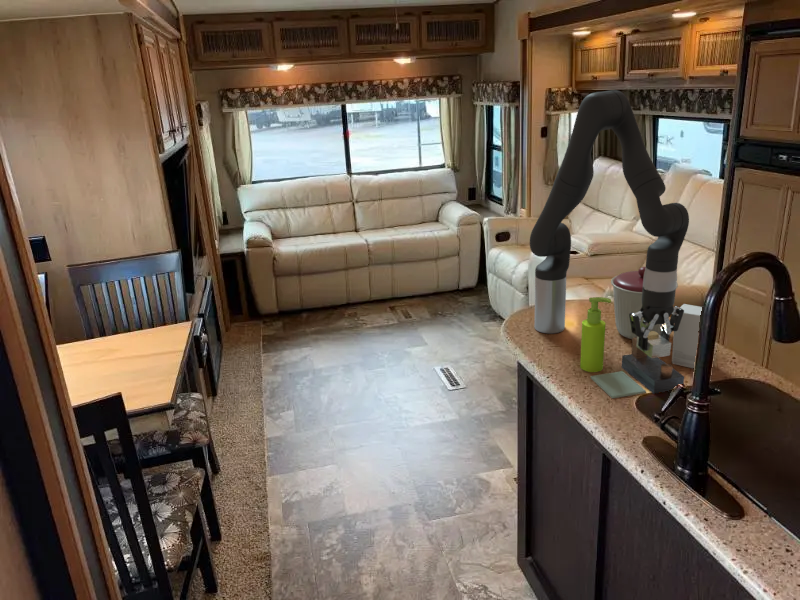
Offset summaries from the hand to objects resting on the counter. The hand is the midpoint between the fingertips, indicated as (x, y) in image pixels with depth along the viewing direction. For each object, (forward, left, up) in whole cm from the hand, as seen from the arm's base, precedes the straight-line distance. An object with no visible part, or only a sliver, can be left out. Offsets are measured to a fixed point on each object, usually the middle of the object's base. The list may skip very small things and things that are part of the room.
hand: (653, 347), depth 155 cm
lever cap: (0, 0, -1) cm, 1 cm away
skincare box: (-4, +14, -9) cm, 17 cm away
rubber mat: (+1, -10, -8) cm, 13 cm away
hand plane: (0, 0, -8) cm, 8 cm away
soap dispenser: (-10, -11, -9) cm, 17 cm away
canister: (-25, +12, -9) cm, 29 cm away
